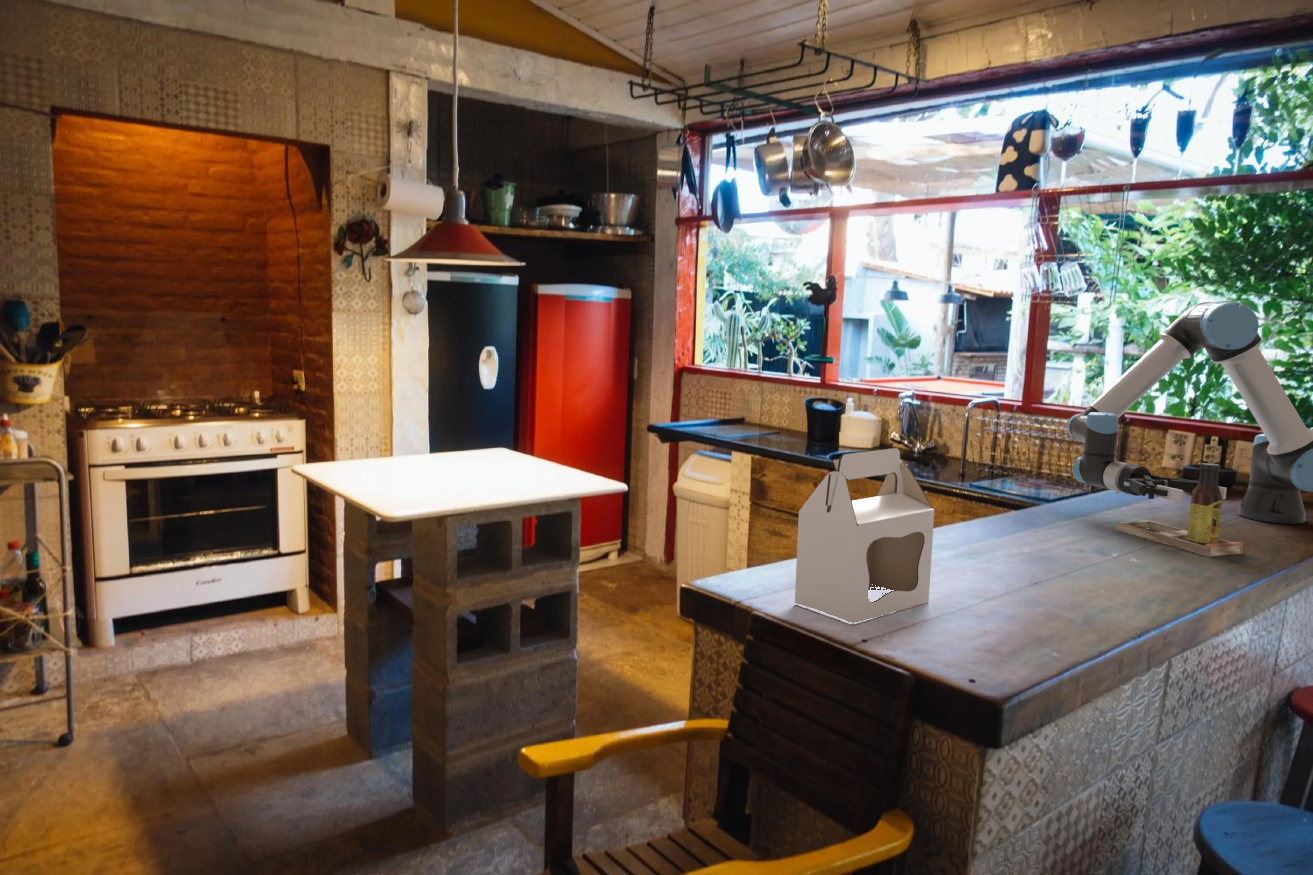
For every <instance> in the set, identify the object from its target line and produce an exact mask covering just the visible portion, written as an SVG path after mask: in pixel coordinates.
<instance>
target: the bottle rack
mask: <svg viewBox="0 0 1313 875" xmlns="http://www.w3.org/2000/svg"><path fill="white" fill-rule="evenodd" d="M1115 526H1116V529H1115V531H1117V530H1118V531H1117V532H1120V531H1123V532H1122V533H1124V532H1126V533H1125V534H1127V533H1128V534H1127V535H1131V534H1133V535H1132V536H1134V535H1136V536H1135V537H1137V536H1139V537H1138V538H1141V537H1142V538H1141V539H1144V538H1147V539H1146V540H1148V539H1150V540H1149V541H1151V540H1153V541H1152V542H1155V541H1157V542H1156V543H1158V542H1161V543H1160V544H1162V543H1164V544H1163V545H1165V544H1167V545H1166V546H1169V545H1171V546H1170V547H1172V546H1174V547H1173V548H1176V547H1177V548H1176V549H1179V548H1181V549H1180V550H1183V549H1184V551H1186V552H1190V553H1193V552H1194V554H1197V555H1201V556H1203V557H1218V556H1219V557H1220V556H1230V555H1240V554H1241V555H1242V554H1243V553H1244V552H1243V550H1244V549H1243V548H1244V544H1245V542H1243V541H1229V540H1226V539H1221V538H1218V543H1216V544H1205V546H1203V545H1199V544H1196V543H1192V542H1189V541H1187V533H1188V529H1184V528H1180V527H1176V526H1171V525H1168V524H1164V523H1160V522H1157V521H1153V520H1151V519H1150V520H1149V519H1148V520H1136V521H1122V522H1120V521H1119V522H1116V525H1115ZM1147 528H1149V529H1147ZM1151 529H1152V530H1151ZM1154 530H1155V531H1154ZM1158 531H1161V532H1158Z"/></svg>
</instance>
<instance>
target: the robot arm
mask: <svg viewBox="0 0 1313 875" xmlns="http://www.w3.org/2000/svg"><path fill="white" fill-rule="evenodd" d="M1259 328H1260V324H1259V319H1258V317H1257V315H1256V313H1255V311H1254V310H1253V309H1252V308H1251V307H1249V306H1248V305H1246V304H1243V303H1240V302H1237V301H1234V300H1221V301H1208V302H1207V301H1206V302H1201V303H1197V304H1195V305H1193V306H1190V307H1189V308H1188V309H1187V310H1185V311H1184V312H1183V313H1182V314H1180V315H1179V316H1178V317H1177V318H1176V319H1174V321H1173V322H1172V323H1171V324H1170V325H1169V326H1167V327H1166V329H1164V330H1163V331H1162V332H1161V333H1160V334H1159V340H1158V342H1156V343H1155V344H1154V345H1153V346H1152V347H1151V348H1150V349H1149V350H1148V351H1147V352H1145V354H1143V355H1142V356H1141V357H1140V358H1139V359H1138V360H1137V361H1136V362H1135V363H1133V365H1132V366H1130V368H1129V369H1127V370H1126V371H1125V372H1124V373H1123V374H1122V375H1121V376H1120V377H1119V378H1118V379H1117V380H1116V381H1115V382H1113V384H1112V385H1111V386H1109V387H1108V388H1107V389H1106V390H1105V391H1104V392H1103V393H1102V394H1101V395H1099V396H1098V398H1096V399H1095V400H1094V401H1093V402H1092V404H1090V405H1089V406H1088V407H1086V408H1085V410H1083V412H1080V413H1076V414H1074V415H1073V416H1071V417H1070V418H1069V419H1068V421H1067V425H1066V429H1067V433H1068V434H1069V436H1070V437H1071V438H1073V440H1075V441H1077V442H1080V443H1083V444H1084V448H1083V449H1084V450H1083V455H1081V456H1078V457H1077V458H1076V459H1075V461H1074V464H1073V465H1072V470H1071V471H1072V475H1073V477H1074V478H1075V480H1076V481H1078V482H1080V483H1083V484H1086V485H1088V486H1092V487H1098V488H1102V489H1106V490H1109V491H1111V490H1112V491H1115V494H1120V493H1124V494H1126V495H1132V496H1136V497H1137V496H1142V497H1144V496H1147V495H1148V497H1147V498H1148V499H1149V500H1154V499H1155V497H1156V498H1159V499H1160V498H1161V499H1165V500H1170V501H1174V502H1178V503H1183V496H1184V492H1186V493H1187V492H1188V493H1192V492H1193V490H1194V488H1195V487H1196V486H1197V485H1198V483H1199V480H1192V479H1184V478H1175V477H1170V476H1167V475H1163V476H1160V475H1158V474H1151V472H1150V470H1149V469H1148V468H1147V467H1146V466H1142V465H1137V464H1132V463H1128V462H1122V461H1118V460H1116V453H1117V452H1116V451H1117V443H1118V442H1117V441H1118V434H1119V430H1120V429H1119V428H1120V427H1119V418H1120V417H1121V416H1123V415H1124V413H1126V412H1127V410H1129V409H1130V408H1131V407H1132V406H1133V405H1134V404H1136V402H1138V401H1139V400H1141V398H1142V397H1143V396H1144V395H1145V394H1146V393H1147V392H1149V391H1150V390H1151V389H1152V388H1153V387H1154V386H1155V385H1157V383H1158V382H1159V381H1160V380H1162V379H1163V378H1164V377H1165V376H1166V375H1167V374H1168V373H1169V372H1170V371H1172V369H1174V368H1175V367H1176V366H1177V365H1178V364H1179V363H1180V362H1181V361H1182V360H1184V359H1190V358H1191V357H1193V356H1194V355H1195V354H1196V353H1197V352H1200V351H1201V350H1202V349H1205V351H1206V353H1207V354H1208V355H1209V357H1210V358H1209V359H1211V361H1212V363H1214V364H1218V365H1222V366H1223V367H1224V369H1225V371H1226V373H1227V375H1228V376H1229V378H1230V379H1231V381H1232V382H1233V384H1234V386H1235V388H1236V389H1237V391H1238V393H1239V394H1240V396H1241V397H1242V399H1243V401H1244V403H1245V405H1246V406H1247V408H1248V409H1249V410H1250V412H1251V414H1252V416H1253V417H1254V419H1255V421H1256V423H1257V424H1258V426H1259V427H1260V429H1261V431H1262V432H1263V433H1260V434H1257V435H1255V437H1254V440H1253V445H1252V448H1251V449H1252V452H1251V453H1252V454H1251V463H1250V470H1249V481H1248V487H1247V490H1246V492H1245V494H1244V495H1243V498H1242V500H1241V502H1240V504H1239V505H1238V510H1237V514H1238V515H1239V516H1241V517H1243V518H1246V519H1251V520H1256V521H1260V522H1266V523H1274V524H1275V523H1277V524H1288V525H1289V524H1291V525H1292V524H1303V523H1305V522H1306V516H1307V514H1306V511H1305V506H1304V502H1303V498H1302V495H1301V492H1302V491H1303V492H1310V493H1311V492H1312V493H1313V428H1309V427H1307V426H1306V424H1305V423H1304V421H1303V419H1302V418H1301V416H1300V415H1299V413H1298V411H1297V409H1296V408H1295V406H1294V404H1293V403H1292V402H1291V399H1290V398H1289V396H1288V395H1287V393H1286V391H1285V390H1284V388H1283V386H1282V385H1281V383H1280V381H1279V380H1278V378H1277V377H1276V375H1275V373H1274V371H1273V369H1272V368H1271V366H1270V364H1269V363H1268V362H1267V359H1266V358H1265V357H1264V355H1263V353H1262V352H1261V349H1260V346H1261V344H1262V341H1263V340H1262V338H1261V336H1260V333H1259V332H1258V331H1259V330H1258V329H1259ZM1219 489H1220V492H1221V496H1222V499H1223V500H1226V498H1227V490H1228V488H1227V487H1223V486H1219Z"/></svg>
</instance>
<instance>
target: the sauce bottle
mask: <svg viewBox="0 0 1313 875" xmlns="http://www.w3.org/2000/svg"><path fill="white" fill-rule="evenodd" d="M1220 471H1221V465H1220V464H1217V463H1206V462H1201V463H1199V478H1198V481H1199V483H1198V485H1197V486H1196V487H1195V488H1194V490H1193V492H1191V502H1190V503H1189V504H1190V505H1189V512H1188V513H1189V514H1188V515H1189V516H1188V524H1187V530H1188V533H1187V541H1189V542H1192V543H1196V544H1199V545H1203V546H1205V544H1216V543H1218V539H1220V538H1219V536H1220V529H1221V528H1220V527H1221V519H1222V518H1221V517H1222V509H1223V508H1222V507H1223V500H1224V499H1222V496H1221V492H1220V489H1219V485H1220V484H1219V476H1220Z"/></svg>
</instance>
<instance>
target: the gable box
mask: <svg viewBox="0 0 1313 875" xmlns="http://www.w3.org/2000/svg"><path fill="white" fill-rule="evenodd" d="M900 452H901V451H900V449H899V448H896V447H892V448H887V449H886V448H885V449H875V450H868V451H861V452H860V451H858V452H852V453H851V452H850V453H843V454H841V455H840V456H839V458H838V459H833V460H832V464H833V466H834V470H835V471H834V470H833V471H830V472H829V473H827V474H826V475H825V477H824V478H823V479H822V480H821V482H820V483H819V484H818V485H817V486H816V489H814V491H813V492H812V493H811V495H810V496H809V497H808V499H807V500H806V501H805V503H803V505H802V507H800V509H799V510H798V522H797V524H798V525H797V544H796V564H795V565H796V567H795V588H794V589H795V590H794V591H795V592H794V604H795V603H797V604H801V605H804V606H807V607H810V608H814V609H817V610H819V611H823V612H825V613H827V614H830V615H833V616H836V617H838V618H841V619H844V620H846V621H848V622H852V623H854V622H859V621H863V620H866V619H870V618H875V617H878V616H881V615H886V614H889V613H891V612H894V611H899V610H902V609H906V608H909V609H911V607H912V608H914V606H915V607H918V606H917V605H919V606H921V604H922V605H925V604H929V600H930V587H931V586H930V584H931V569H932V568H931V567H932V553H933V539H934V538H933V536H934V526H935V525H934V522H935V521H934V520H935V509H934V507H933V505H932V503H931V502H930V500H929V499H928V497H927V495H926V494H925V492H924V490H923V489H922V487H921V485H920V484H919V482H918V480H917V479H916V477H915V475H914V473H913V472H912V470H911V469H910V468H909V466H908V464H907V463H902V462H901V453H900ZM883 475H885V478H884V481H883V483H882V484H881V487H880V489H879V492H878V494H877V495H876V496H872V497H866V498H860V499H854V500H852V497H851V492H850V489H849V484H848V481H849V480H850V481H851V480H855V479H864V478H869V477H870V478H871V477H876V476H883ZM872 584H873V585H872ZM875 585H876V586H875ZM878 586H879V587H880V589H877V590H881V587H884V588H886V590H887V589H890V590H894V591H891V592H889V593H887V594H886V593H885V595H883V596H882V597H881V598H879V599H878V600H876V601H874V602H870V601H869V599H868V590H870V587H874V588H871V590H876V588H875V587H878ZM883 590H885V589H883ZM882 594H883V593H882ZM906 610H907V609H906ZM902 611H903V610H902ZM899 612H900V611H899ZM889 615H890V614H889ZM886 616H887V615H886Z"/></svg>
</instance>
